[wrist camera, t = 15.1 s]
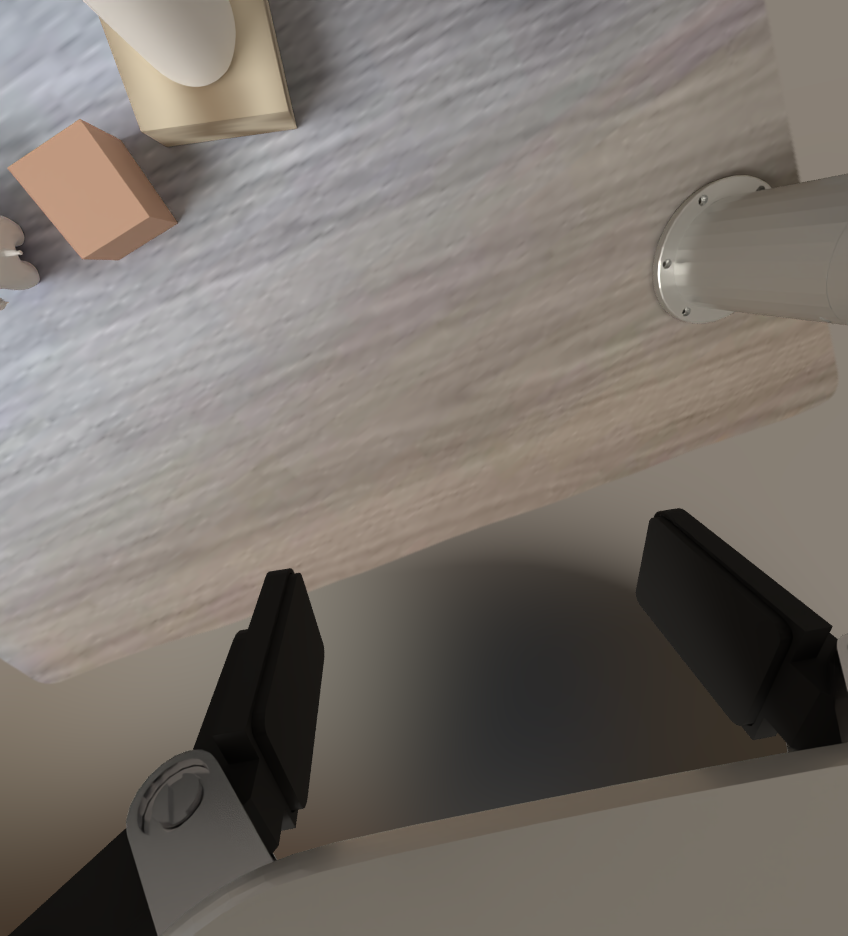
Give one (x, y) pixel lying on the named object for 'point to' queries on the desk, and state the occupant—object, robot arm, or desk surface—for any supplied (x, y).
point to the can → (176, 35)
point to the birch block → (212, 87)
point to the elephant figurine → (14, 260)
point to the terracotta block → (93, 192)
